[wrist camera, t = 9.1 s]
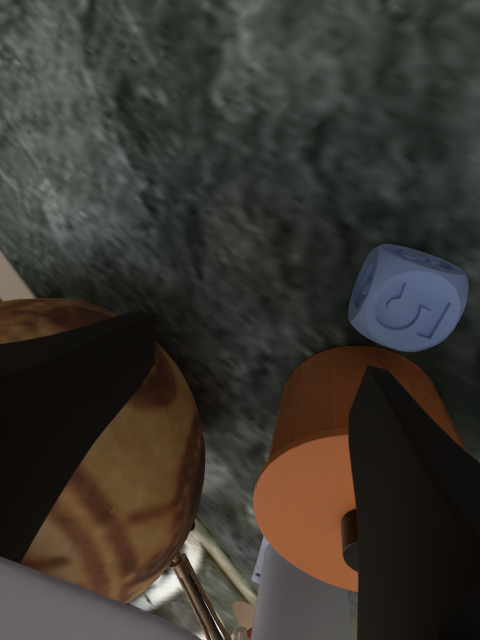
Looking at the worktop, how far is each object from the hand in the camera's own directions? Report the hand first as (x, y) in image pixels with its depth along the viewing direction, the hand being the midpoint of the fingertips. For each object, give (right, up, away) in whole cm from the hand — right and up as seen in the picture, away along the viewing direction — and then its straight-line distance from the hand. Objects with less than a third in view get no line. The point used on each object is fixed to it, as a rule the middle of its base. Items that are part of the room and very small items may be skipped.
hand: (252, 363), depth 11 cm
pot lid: (+6, -8, +4) cm, 11 cm away
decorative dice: (+8, +4, +7) cm, 11 cm away
